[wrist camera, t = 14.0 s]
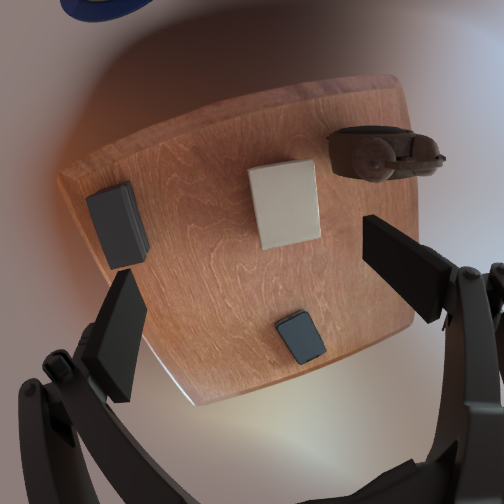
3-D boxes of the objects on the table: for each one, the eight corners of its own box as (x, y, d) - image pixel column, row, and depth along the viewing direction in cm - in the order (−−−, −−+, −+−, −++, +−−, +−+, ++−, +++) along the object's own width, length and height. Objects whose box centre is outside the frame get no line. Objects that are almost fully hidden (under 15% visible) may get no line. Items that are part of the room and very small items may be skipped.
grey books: (97, 189, 41) (84, 198, 35) (130, 179, 41) (120, 187, 36) (119, 255, 46) (110, 271, 41) (150, 247, 47) (144, 263, 41)
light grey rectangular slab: (246, 168, 41) (248, 170, 40) (310, 158, 42) (313, 159, 40) (260, 246, 47) (262, 250, 45) (317, 234, 48) (320, 237, 46)
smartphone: (307, 309, 56) (328, 352, 63) (304, 305, 58) (325, 347, 64) (274, 327, 57) (299, 366, 63) (272, 322, 58) (297, 362, 65)
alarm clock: (380, 122, 44) (462, 132, 26) (384, 159, 47) (462, 185, 29) (308, 127, 42) (376, 133, 25) (314, 169, 46) (380, 200, 28)
